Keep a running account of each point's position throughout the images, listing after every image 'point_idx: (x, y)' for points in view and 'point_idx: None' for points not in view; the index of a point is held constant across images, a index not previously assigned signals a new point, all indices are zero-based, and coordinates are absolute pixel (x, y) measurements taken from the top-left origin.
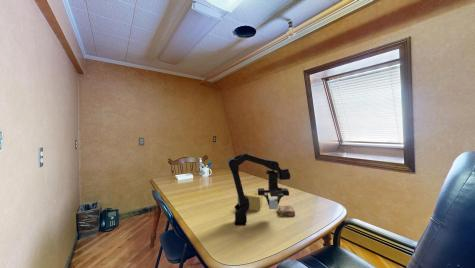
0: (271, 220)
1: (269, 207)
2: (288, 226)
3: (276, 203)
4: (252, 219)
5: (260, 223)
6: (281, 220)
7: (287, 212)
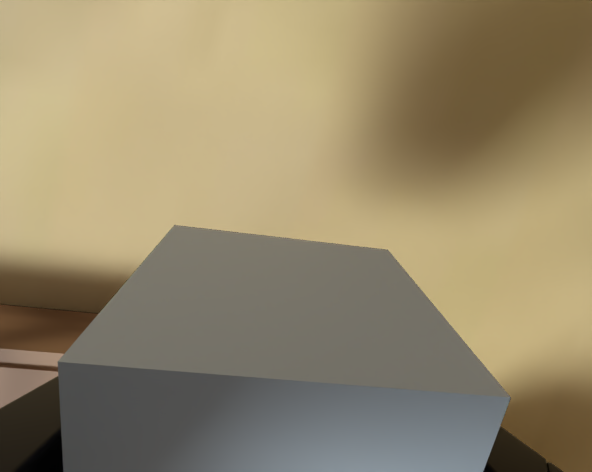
0: (306, 205)
1: (399, 273)
2: None
3: (170, 304)
4: (552, 254)
5: (487, 133)
6: (158, 191)
7: (7, 337)
